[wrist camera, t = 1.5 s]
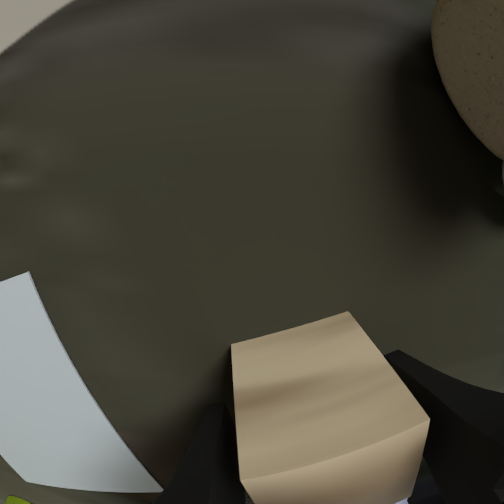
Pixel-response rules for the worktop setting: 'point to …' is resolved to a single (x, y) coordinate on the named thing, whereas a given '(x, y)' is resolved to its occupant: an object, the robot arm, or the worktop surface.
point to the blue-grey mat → (54, 407)
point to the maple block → (324, 418)
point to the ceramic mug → (473, 64)
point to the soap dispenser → (15, 500)
